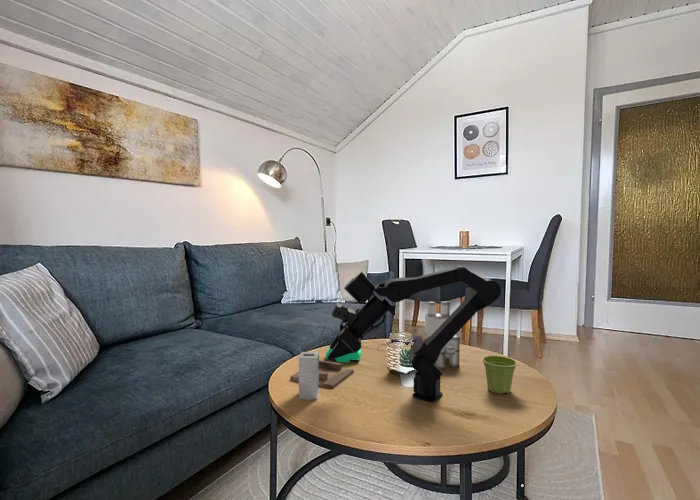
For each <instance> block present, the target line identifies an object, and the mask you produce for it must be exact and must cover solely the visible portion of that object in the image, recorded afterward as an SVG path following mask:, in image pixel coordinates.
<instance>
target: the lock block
mask: <svg viewBox="0 0 700 500" xmlns="http://www.w3.org/2000/svg"><path fill="white" fill-rule="evenodd" d="M319 360H320V352H318V351H301V352H300V354H299V357H298V372H299V382H298V399H299V400H318V398H319V395H320V394H319V393H320V386H319Z"/></svg>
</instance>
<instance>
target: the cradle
mask: <svg viewBox="0 0 700 500" xmlns="http://www.w3.org/2000/svg"><path fill="white" fill-rule="evenodd" d="M354 370H355V369H351V368H347V367H342V363H341V362H334V361H330V360H321V359H319V387H322V388H328V389H332V390H333V389H335V388H336V387H337V386H338V385H340V384H341V383H342V382H343V381H345V380H346V379H348V378H349V377H350V376H351V375H352V374H354V372H355V371H354ZM289 379H290V381H293V382H294V381H295V382H298V383H299V371H298V372H296V373H294V374H292V375H291V376H290V377H289Z"/></svg>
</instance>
